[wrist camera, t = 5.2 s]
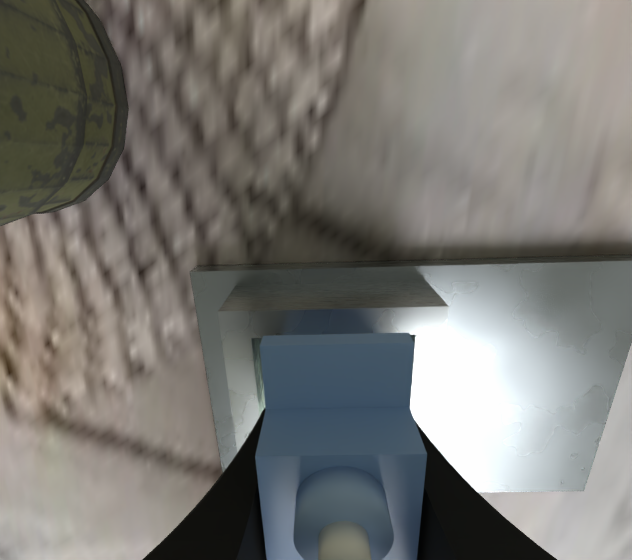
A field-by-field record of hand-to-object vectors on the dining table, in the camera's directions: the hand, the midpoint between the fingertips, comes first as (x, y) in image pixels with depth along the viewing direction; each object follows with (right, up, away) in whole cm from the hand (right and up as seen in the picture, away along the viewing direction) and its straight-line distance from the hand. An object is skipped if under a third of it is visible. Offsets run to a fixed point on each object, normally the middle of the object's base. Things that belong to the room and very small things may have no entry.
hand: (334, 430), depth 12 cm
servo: (0, +1, +2) cm, 2 cm away
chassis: (+4, 0, +4) cm, 5 cm away
